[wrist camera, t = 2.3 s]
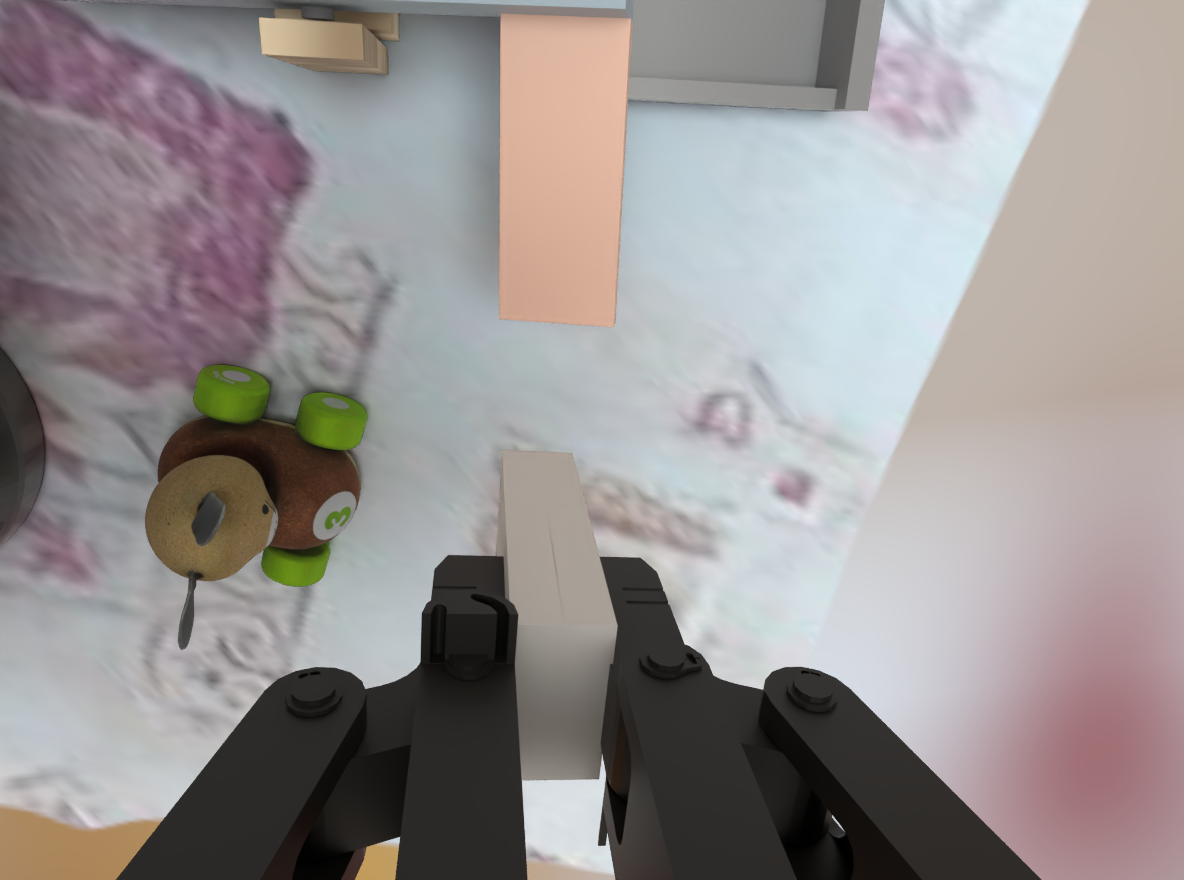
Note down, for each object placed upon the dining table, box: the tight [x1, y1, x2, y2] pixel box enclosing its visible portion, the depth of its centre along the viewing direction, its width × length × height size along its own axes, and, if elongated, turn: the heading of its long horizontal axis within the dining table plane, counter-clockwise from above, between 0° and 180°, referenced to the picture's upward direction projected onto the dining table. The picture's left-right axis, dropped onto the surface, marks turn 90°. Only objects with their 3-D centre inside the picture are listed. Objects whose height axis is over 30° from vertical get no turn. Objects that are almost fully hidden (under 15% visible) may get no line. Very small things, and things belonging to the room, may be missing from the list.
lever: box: [59, 0, 634, 327], centre depth 26 cm, size 20×16×5 cm
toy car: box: [145, 365, 367, 650], centre depth 35 cm, size 9×9×11 cm
